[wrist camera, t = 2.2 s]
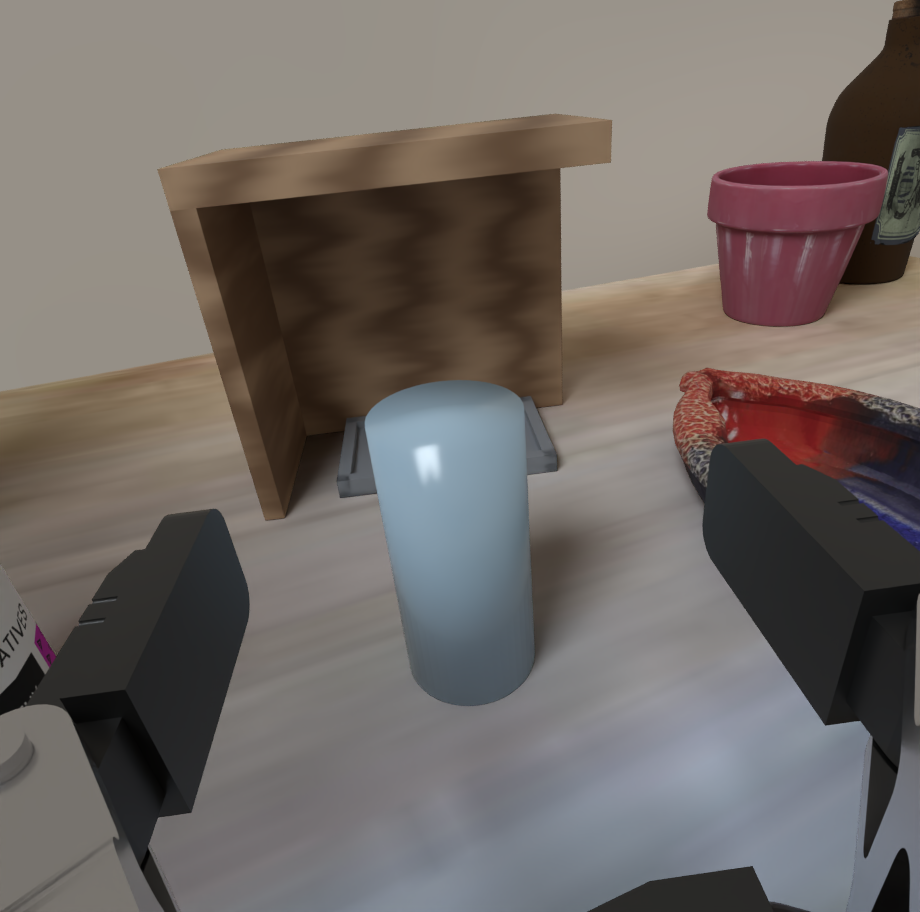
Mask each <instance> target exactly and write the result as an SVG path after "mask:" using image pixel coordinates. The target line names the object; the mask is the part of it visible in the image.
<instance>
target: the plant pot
mask: <svg viewBox="0 0 920 912" xmlns="http://www.w3.org/2000/svg"><path fill="white" fill-rule="evenodd" d="M887 179H888V171H887V169H885V168H883V167H881V166H877V165H873V164H865V163H855V162H834V161H808V162H807V161H805V162H778V163H763V164H753V165H745V166H739V167H734V168H729V169H725V170H722V171H720V172H717V173H716V174H714V176H713V178H712V182H711V188H710V196H709V203H708V213H707V215H708V218H709V219H710V220H711V221H713V222H715V223H716V233H717V245H718V257H719V269H720V280H721V290H722V301H723V310H724V312H725V313H726V314H727V315H728V316H729V317H731V318H733V319H735V320H738V321H741V322H745V323H749V324H755V325H762V326H796V325H803V324H807V323H811V322H814V321H817V320H819V319H820V318H821V317H822V316H823V315H824V314H825V311H826V309H827V307H828V305H829V303H830V301H831V299H832V297H833V295H834V292H835V290H836V288H837V286H838V284H839V282H840V280H841V278H842V276H843V274H844V271H845V269H846V267H847V265H848V263H849V260H850V258H851V256H852V254H853V251H854V249H855V247H856V245H857V242H858V240H859V238H860V235H861V233H862V231H863V228H864V226H865V224H867V223H869V222H871V221H873V220H874V219H876V218H877V217H878V215H879V213H880V210H881V206H882V202H883V198H884V194H885V189H886V184H887Z"/></svg>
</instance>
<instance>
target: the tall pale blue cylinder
mask: <svg viewBox="0 0 920 912" xmlns="http://www.w3.org/2000/svg"><path fill="white" fill-rule="evenodd" d="M365 431H366V436H367V441H368V447H369V452H370V457H371V463H372V468H373V473H374V478H375V484H376V489H377V494H378V499H379V505H380V510H381V515H382V521H383V526H384V531H385V536H386V542H387V547H388V552H389V557H390V563H391V568H392V573H393V579H394V584H395V589H396V594H397V600H398V605H399V610H400V615H401V621H402V626H403V631H404V637H405V642H406V647H407V652H408V658H409V663H410V668H411V671H412V674H413V676H414V678H415V680H416V682H417V683H418V685H419V686H420V687H421V688H422V689H423V690H424V691H425V692H427V693H428V694H429V695H431V696H433V697H434V698H436V699H438V700H441V701H443V702H446V703H450V704H454V705H461V706H474V705H482V704H487V703H491V702H494V701H497V700H499V699H501V698H504V697H505V696H507V695H509V694H510V693H512V692H513V691H514V690H516V689H517V688H518V687H519V686H520V685H521V684H522V683H523V682H524V681H525V679H526V678H527V677H528V675H529V673H530V671H531V669H532V666H533V663H534V658H535V647H534V623H533V600H532V577H531V553H530V530H529V507H528V484H527V460H526V437H525V414H524V405H523V402H522V400H521V399H520V398H519V397H518V396H517V395H516V394H515V393H514V392H512V391H510V390H508V389H507V388H504V387H502V386H499V385H495V384H492V383H487V382H481V381H471V380H449V381H438V382H432V383H426V384H421V385H417V386H413V387H410V388H407V389H404V390H401V391H399V392H396V393H394V394H392V395H390V396H388V397H386V398H385V399H383V400H381V401H380V402H379V403H377V404H376V405H375V406H374V407H373V408H372V409H371V410H370V411H369V413H368V414H367V416H366V419H365Z"/></svg>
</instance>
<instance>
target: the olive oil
mask: <svg viewBox="0 0 920 912" xmlns="http://www.w3.org/2000/svg"><path fill="white" fill-rule="evenodd" d="M822 161H834V162H855V163H865V164H873V165H877V166H881V167H883V168H885V169H887V171H888V179H887V184H886V189H885V194H884V198H883V202H882V206H881V210H880V213H879V215H878V217H877V218H876V219H874V220H873V221H871V222H869V223H867V224H865V226H864V228H863V231H862V233H861V235H860V238H859V240H858V242H857V245H856V247H855V249H854V251H853V254H852V256H851V258H850V260H849V263H848V265H847V267H846V269H845V271H844V274H843V276H842V278H841V280H840V282H839V283H850V284H872V283H883V282H889V281H893V280H896V279H898V278H900V277H901V276H902V275H903V274H904V271H905V268H906V265H907V261H908V258H909V255H910V251H911V248H912V245H913V241H914V238H915V237H916V235H918V233H919V231H920V0H902V1H897V2H895V3H894V7H893V16H892V20H889V24H888V29H887V34H886V41H885V46H884V48H883V50H882V51H881V53H880V54H879V55H878V56H877V57H876V58H875V59H874V60H873V61H872V62H871V64H869V65H868V66H867V67H866V68H865V69H864V70H863V71H862V72H861V73H860V74H859V75H858V76H857V77H856V78H855V79H854V80H853V81H852V82H851V83H850V84H849V85H848V86H847V87H846V88H845V89H844V91H843V92H842V93H841V94H840V95H839V97H838V99H837V100H836V102H835V104H834V106H833V109H832V111H831V113H830V116H829V118H828V122H827V127H826V134H825V142H824V150H823V158H822Z"/></svg>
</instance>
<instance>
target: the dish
mask: <svg viewBox="0 0 920 912" xmlns="http://www.w3.org/2000/svg"><path fill="white" fill-rule="evenodd" d="M679 386H680V391H682V392H685V394H684V395H683V397H682V398H681V399H680V401H679V402H678V404H677V406H676V409H675V411H674V418H673V434H674V440H675V444H676V446H677V448H678V451H679V453H680V455H681V457H682V459H683V461H684V464H685V467H686V470H687V472H688V474H689V477H690V479H691V481H692V484H693V485H694V487H695V488H696V490H697V492H698V493H699V495H700V497H701V498H702V500H703V501H704V503H705V497H706V488H707V480H708V471H709V462H710V455H711V452H712V450H713V448H714V447H715V446H716V445H718V444H724V443H732V442H739V441H747V440H755V439H767V440H769V441H770V442H772V443H773V444H774V445H775V446H776V447H777V448H778V449H779V450H780V451H782V452H783V453H784V454H785V455H786V456H787V457H788V458H789V459H790V460H791V461H793V462H794V463H795V464H796V465H799V464H804V465H806V466H808V467H810V468H812V469H815V470H817V471H819V472H821V473H823V474H825V475H827V476H830V477H832V478H834V479H836V480H837V481H838V482H839V483H840V484H842V485H843V486H844V487H845V488H846V489H847V490H849V491H850V492H851V493H852V494H853V495H854V496H856V497H857V498H858V499H859V503H864V504H865V505H866V506H867V507H868V508H870V509H871V510H872V511H873V512H874V513H875V514H877V515H878V519H879V521H880V520H884V521H885V522H886V523H887V524H888V525H890V526H891V527H892V528H893V529H894V530H895V531H897V532H898V533H899V534H900V535H901V536H902V537H904V538H905V539H906V540H907V541H908V542H909V543H911V544H912V545H913V546H914V547H915V548H916V549H918V550H919V551H920V408H917V407H914V406H910V405H907V404H904V403H901V402H898V401H894V400H891V399H887V398H883V397H879V396H875V395H872V394H868V393H864V392H860V391H855V390H851V389H846V388H841V387H836V386H831V385H826V384H819V383H813V382H806V381H799V380H791V379H783V378H778V377H772V376H766V375H760V374H753V373H741V372H730V371H721V370H715V369H710V368H705V369H703V370H700V371H696V372H688V373H686V374H684V375H683V377H682V379H681V382H680V385H679Z"/></svg>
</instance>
